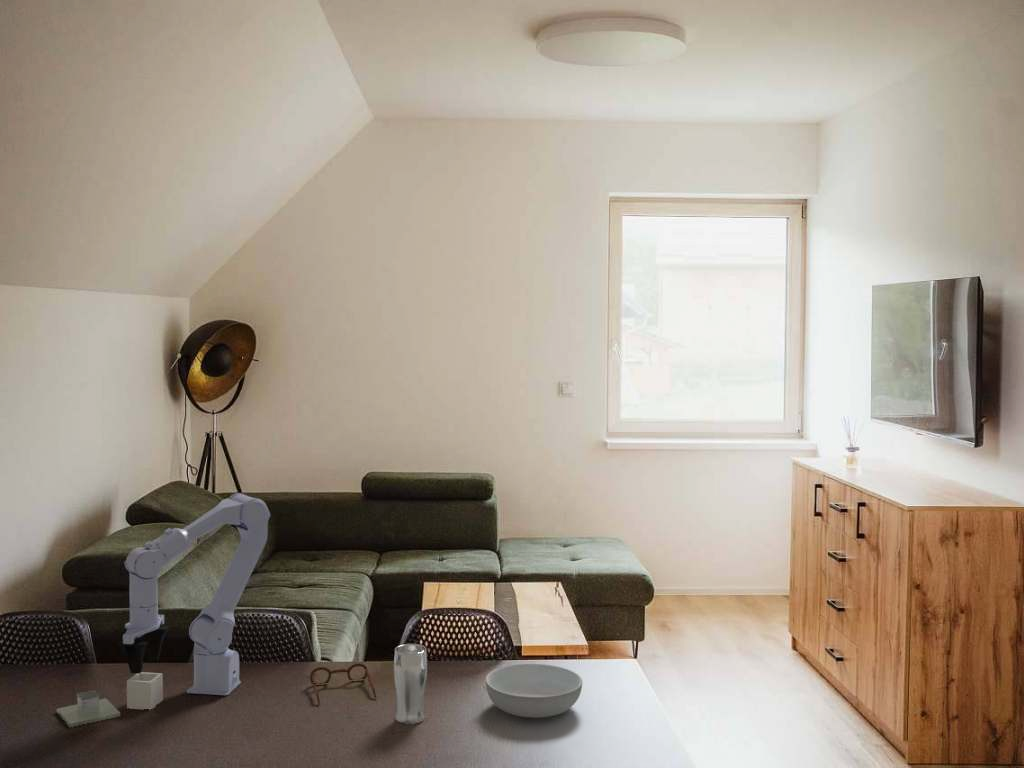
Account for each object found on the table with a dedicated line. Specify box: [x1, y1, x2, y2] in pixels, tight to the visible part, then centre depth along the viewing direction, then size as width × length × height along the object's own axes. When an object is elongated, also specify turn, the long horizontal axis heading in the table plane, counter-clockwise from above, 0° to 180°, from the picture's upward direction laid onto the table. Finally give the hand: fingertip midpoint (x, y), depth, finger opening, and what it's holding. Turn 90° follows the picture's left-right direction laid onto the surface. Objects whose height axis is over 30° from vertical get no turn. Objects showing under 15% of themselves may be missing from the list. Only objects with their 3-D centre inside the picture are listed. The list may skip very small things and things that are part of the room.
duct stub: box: [56, 689, 121, 729], centre depth 212 cm, size 10×10×4 cm
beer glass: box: [393, 643, 428, 725], centre depth 212 cm, size 7×7×15 cm
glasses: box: [309, 662, 378, 706], centre depth 226 cm, size 13×13×5 cm
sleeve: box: [126, 671, 164, 711], centre depth 218 cm, size 5×5×6 cm
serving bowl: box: [485, 663, 583, 719], centre depth 218 cm, size 21×21×7 cm
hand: (144, 666), depth 218 cm, fingers open, 7 cm apart
